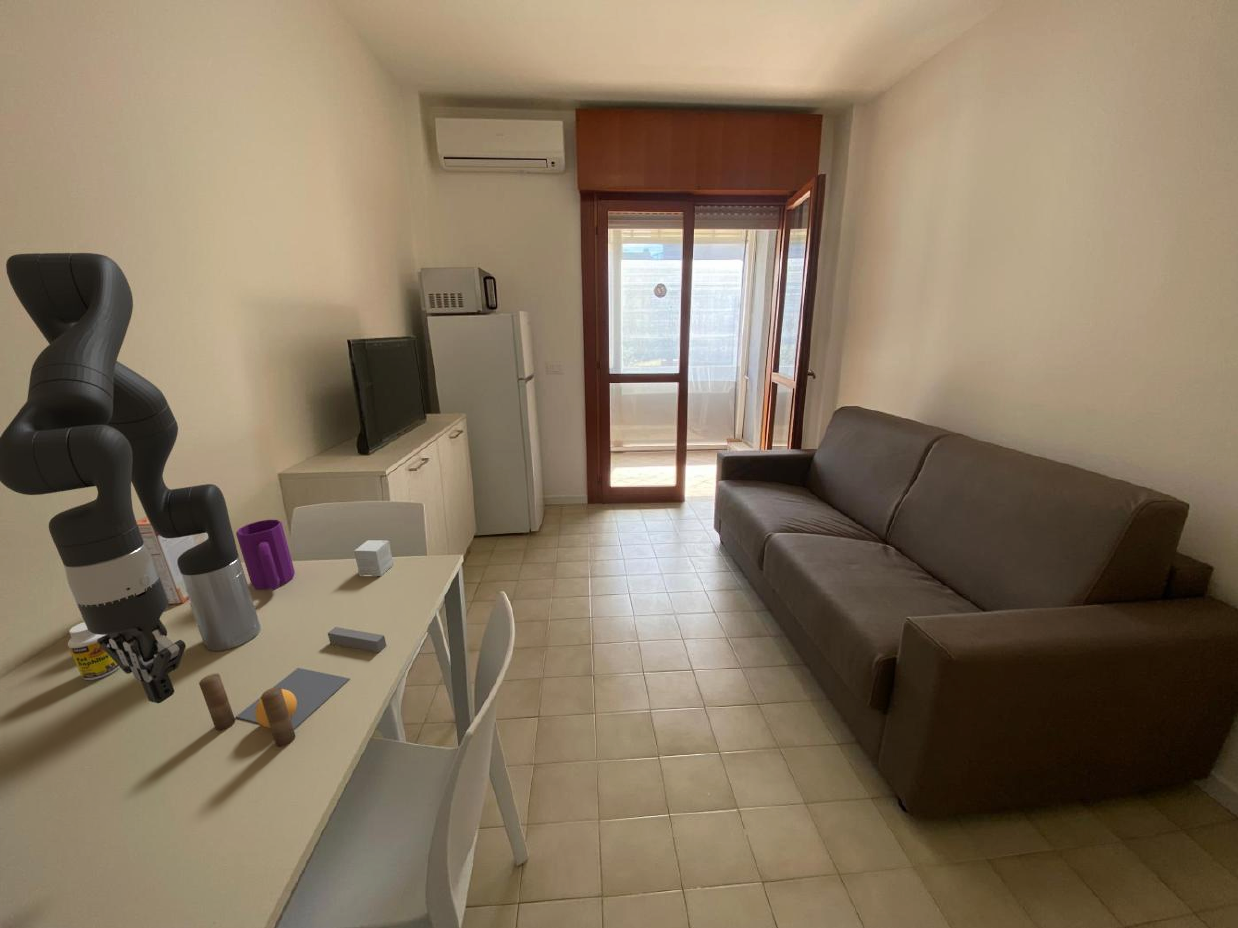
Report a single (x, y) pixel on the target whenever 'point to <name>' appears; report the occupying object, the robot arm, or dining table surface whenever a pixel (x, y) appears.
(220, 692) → the left post
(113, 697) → the dining table surface
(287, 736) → the right post
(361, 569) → the product box
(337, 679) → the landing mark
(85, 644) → the supplement bottle
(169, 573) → the cracker box
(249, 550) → the mug
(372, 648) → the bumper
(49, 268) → the robot arm
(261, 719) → the ball
